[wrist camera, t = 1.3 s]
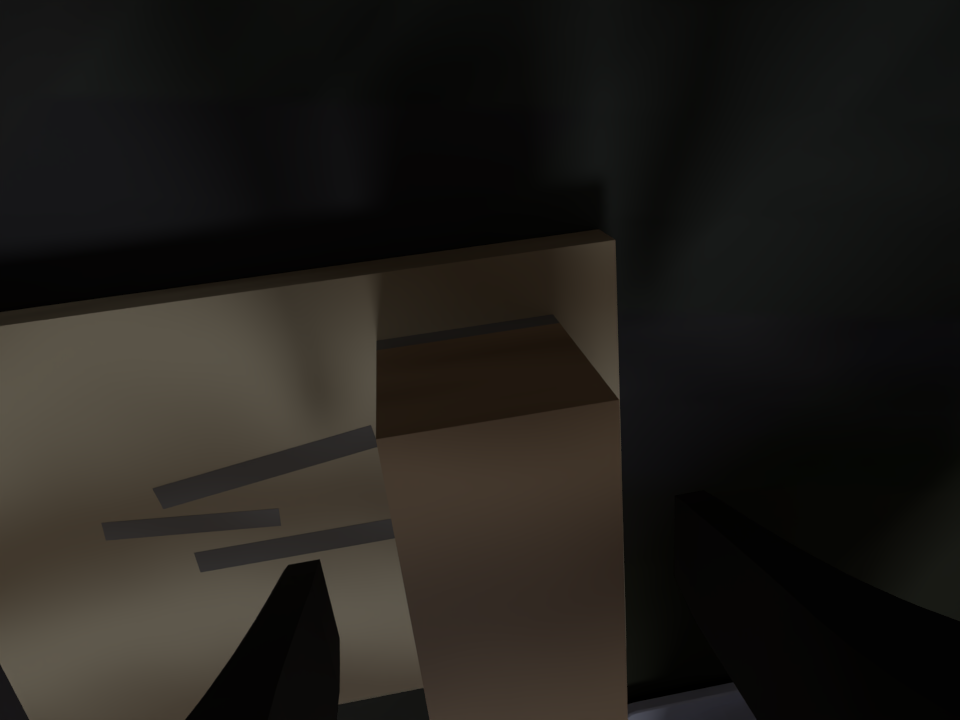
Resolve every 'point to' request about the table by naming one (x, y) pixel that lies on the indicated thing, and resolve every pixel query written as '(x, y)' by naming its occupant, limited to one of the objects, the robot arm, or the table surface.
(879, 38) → the table surface
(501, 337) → the block
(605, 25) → the table surface
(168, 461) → the board
